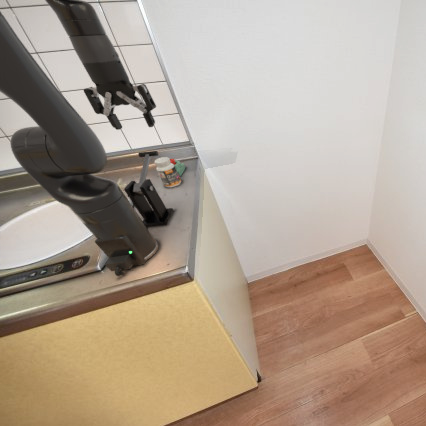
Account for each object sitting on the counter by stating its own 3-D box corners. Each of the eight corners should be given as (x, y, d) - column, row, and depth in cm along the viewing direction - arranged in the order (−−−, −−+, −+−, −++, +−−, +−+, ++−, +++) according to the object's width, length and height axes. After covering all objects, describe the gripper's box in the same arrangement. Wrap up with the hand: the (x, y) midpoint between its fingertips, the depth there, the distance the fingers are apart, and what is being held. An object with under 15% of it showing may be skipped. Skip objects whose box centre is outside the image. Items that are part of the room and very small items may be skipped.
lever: (142, 155, 74) (137, 150, 71) (159, 154, 74) (155, 148, 72) (132, 196, 67) (126, 192, 65) (151, 194, 67) (146, 190, 65)
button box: (180, 176, 94) (176, 167, 91) (164, 177, 93) (159, 168, 91) (185, 167, 99) (182, 159, 97) (170, 169, 99) (166, 160, 96)
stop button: (174, 166, 93) (172, 162, 92) (166, 167, 92) (164, 163, 91) (177, 162, 95) (175, 158, 94) (168, 163, 95) (166, 159, 94)
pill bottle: (175, 188, 87) (163, 164, 80) (161, 187, 88) (148, 163, 82) (185, 180, 91) (174, 156, 85) (172, 179, 92) (160, 155, 86)
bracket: (151, 213, 76) (129, 178, 68) (174, 210, 77) (155, 176, 68) (141, 228, 71) (117, 192, 62) (166, 225, 71) (145, 189, 63)
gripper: (56, 63, 53) (101, 134, 63) (124, 59, 54) (157, 130, 64) (78, 59, 59) (115, 125, 69) (139, 55, 60) (167, 121, 70)
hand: (136, 127), depth 67 cm, fingers open, 8 cm apart
